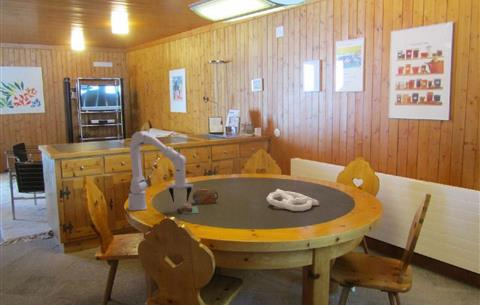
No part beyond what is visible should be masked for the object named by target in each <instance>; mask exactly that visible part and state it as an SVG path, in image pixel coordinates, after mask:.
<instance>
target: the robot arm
mask: <svg viewBox="0 0 480 305" xmlns="http://www.w3.org/2000/svg"><path fill="white" fill-rule="evenodd" d="M130 140H131V141H130V142H129V145H128V146H129V155H130V164H131V175H132V178H131V180H130V187H129V190H130V193H128V211H141V210H142V211H146V210H147V207H148V205H147V203H146V202H147V200H146V199H147V198H146V196H147V195H146V190H147V187H148V184H147V183H148V182H147V181H146V178H145V176H143V167H142V159H141V152H140V151H141V150H140V149H141V147H142V146H143V145H144V144H151V145H152V146H154V147H155V148H156V149H158V150H159V151H160V152H162V155H163V156H164V157H165V158H167V159H168V160H169V161H170V162H172V165H173V166H174V184H166V189H167V190H168V191H169V194H170V196H171V199H172V203H174V202H175V196H174V192H175V191H174V190H176V189H177V190H178V189H181V190H182V189H186V202H189V199H190V198H189V197H190V196H191V193H192V189H194V183H191V184H189V183H186V163H187V157H186V156H185V155H184V154H181V153H180V152H178V151H176V150H174V147H173V146H171V147H170V146H166V145H165V144H164V143H163V142H161V141H160V140H159V139H158V138H156V137H155V135H153V133H150V131H148V130H141V131H136V132H134V134H132V135H131V139H130Z"/></svg>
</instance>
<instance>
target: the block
mask: <svg viewBox="0 0 480 305" xmlns="http://www.w3.org/2000/svg"><path fill="white" fill-rule="evenodd" d="M192 206H193V205H192V203H191V202H187V203H186V202H185V203H178V210H179V211H178V213H181V214H182V213H183V212H192Z"/></svg>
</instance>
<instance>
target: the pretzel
mask: <svg viewBox="0 0 480 305" xmlns="http://www.w3.org/2000/svg"><path fill="white" fill-rule="evenodd" d="M276 198H281V199H282V200H277V199H276ZM266 201H267V202H268V203H269V204H270V205H271V206H272V205H273V206H274V207H277V208H281V209H286V210H290V211H293V212H304V211H308V210H311V208H312V207H313V206H315V205H316V206H318V205H319V204H320V203H319V202H320V201H318V199H315V198H311V196H308V195H307V196H306V195H304V193H302V194H301V193H299V192H294V191H290V190H289V191H288V190H287V191H286V190H283V189H282V190H281V189H280V188H277V189H276V190H275V191H273V192H270V193H269V194H268V195H267V197H266Z"/></svg>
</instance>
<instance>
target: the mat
mask: <svg viewBox="0 0 480 305" xmlns="http://www.w3.org/2000/svg"><path fill="white" fill-rule="evenodd" d="M198 208H199V207H198V206H197V205H194V206H193V205H192V212H183V213H181V215H189V214H199V209H198Z"/></svg>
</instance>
